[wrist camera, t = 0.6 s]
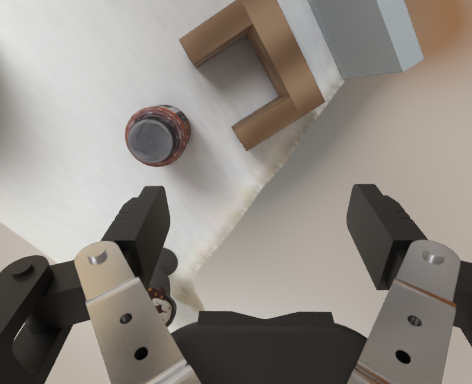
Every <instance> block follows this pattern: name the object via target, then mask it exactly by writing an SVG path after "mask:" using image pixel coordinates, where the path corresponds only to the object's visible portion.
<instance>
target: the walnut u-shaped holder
mask: <svg viewBox="0 0 472 384" xmlns="http://www.w3.org/2000/svg"><path fill="white" fill-rule="evenodd" d="M245 35H247V37H248V39H249V41H250V42H251V44H252V46H253V48H254V50H255V52H256V54H257V56H258V58H259V59H260V61H261V63H262V65H263V67H264V69H265V71H266V73H267V75H268V76H269V78H270V80H271V82H272V84H273V86H274V88H275V90H276V92H277V93H278V95H279V97H277V98H276V99H274V100H272V101H271V102H269V103H268V104H266V105H265V106H263V107H261V108H260V109H258V110H257V111H255V112H254V113H252V114H250V115H249V116H247V117H246V118H244V119H243V120H241V121H240V122H238V123H236V124H235V125H233V126H232V129H233V130H234V132H235V134H236V135H237V137H238V138H239V140H240V142H241V143H242V145H243V146H244V148H245V150H246V151H248V150H249V149H251V148H253V147H254V146H256V145H257V144H259V143H261V142H262V141H264V140H265V139H267V138H269V137H270V136H272V135H273V134H275V133H277V132H278V131H280V130H281V129H283V128H285V127H286V126H288V125H289V124H291V123H293V122H294V121H296V120H297V119H299V118H301V117H302V116H304V115H305V114H307V113H309V112H310V111H312V110H313V109H315V108H317V107H318V106H320V105H321V104H323V103H325V100H324V98H323V96H322V94H321V92H320V90H319V88H318V86H317V84H316V81H315V79H314V77H313V75H312V73H311V71H310V69H309V67H308V65H307V63H306V61H305V58H304V56H303V54H302V52H301V50H300V48H299V46H298V44H297V42H296V40H295V37H294V35H293V33H292V31H291V29H290V27H289V25H288V23H287V21H286V19H285V16H284V14H283V12H282V10H281V8H280V6H279V4H278V2H277V0H236V1H234V2H233V3H232V4H230V5H229V6H227V7H226V8H224V9H223V10H221V11H220V12H218V13H217V14H216V15H214V16H213V17H211V18H210V19H208V20H207V21H205V22H204V23H202V24H201V25H200V26H198V27H197V28H195V29H194V30H192V31H191V32H189V33H188V34H186V35H185V36H183V37H182V38H181V39H179V41H180V43H181V44H182V46H183V48H184V50H185V51H186V53H187V55H188V56H189V58H190V60H191V61H192V63H193V65H194V66H195V68H197V67H198V66H200V65H201V64H203V63H204V62H206V61H207V60H209V59H210V58H212V57H213V56H215V55H216V54H218V53H219V52H221V51H222V50H224V49H225V48H227V47H228V46H230V45H231V44H233V43H234V42H236V41H237V40H239V39H240V38H242V37H243V36H245Z"/></svg>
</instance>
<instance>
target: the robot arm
mask: <svg viewBox="0 0 472 384" xmlns="http://www.w3.org/2000/svg"><path fill="white" fill-rule="evenodd" d="M169 227H170V214H169V209H168V204H167V198H166V193H165V189H164V187H163V186H145V187H144V188H143V190H142V192H141V194H140V195H139V197H138V198H132V199H131V200H129V201H128V202H127V203H125V204H124V205H123V207H122V208H121V210H120V211H119V214H117V216H116V218H115V220H114V221H113V222H112V224H111V225H110V227H109V229H108V230H107V232H106V233H105V235H104V236H103V238H102V239H101V241H100V242H96V243H93V244H91V245H88V246H87V247H85V248H83V249H82V250H81V251H80V252H79V253H78V254H77V256H76V257H75V260H72V261H68V262H64V263H59V264H55V265H51V266H50V265H49V262H48V260H47V259H46V258H45V257H43V256H39V255H34V256H28V257H24V258H22V259H19V260H17V261H15V262H13V263H11V264H10V265H8V266H7V267H6V268H4V269H3V270H2V271H1V272H0V384H44V383H45V381H46V379H47V377H48V375H49V373H50V371H51V369H52V367H53V365H54V363H55V361H56V359H57V357H58V355H59V353H60V350H61V349H62V347H63V344H64V342H65V340H66V338H67V336H68V334H69V332H70V330H71V328H72V326H73V324H76V323H80V322H83V321H87V320H91V322H92V325H93V328H94V331H95V334H96V338H97V340H98V344H99V347H100V350H101V353H102V356H103V359H104V363H105V366H106V368H107V372H108V375H109V378H110V381H111V384H441V383H442V378H443V373H444V368H445V363H446V357H447V352H448V347H449V342H450V337H451V332H452V327H453V326H455V327H459V328H461V330H462V332H463V333H464V335H465V336H466V338H467V340H468V342H469V343H470V345H471V346H472V263H469V262H464V261H460V258H459V257H458V255H457V254H456V253H455V252H454V251H453V250H451V249H450V248H448V247H447V246H445V245H443V244H440V243H438V242H434V241H430V240H428V239H427V238H426V236H425V235H424V234H423V233H422V232H421V230H420V229H419V228H418V226H417V225H416V224H415V223H414V221H413V220H412V219H410V216H409V215H408V214H407V213H406V212H405V210H404V209H403V208H402V207H401V205H400V204H399V203H398V202H396V201H395V200H394V199H392V198H390V197H389V196H383V195H382V193H381V192H380V191H379V189H378V188H377V187H376V185H374V184H355V185H354V186H353V188H352V193H351V197H350V202H349V207H348V212H347V227H348V230H349V232H350V234H351V236H352V238H353V240H354V242H355V245H356V247H357V249H358V251H359V253H360V255H361V257H362V259H363V262H364V264H365V266H366V268H367V270H368V272H369V274H370V276H371V279H372V281H373V283H374V285H375V287H376V289H377V290H389V292H388V294H387V297H386V299H385V301H384V303H383V306H382V308H381V310H380V312H379V315H378V317H377V319H376V321H375V324H374V326H373V328H372V330H371V333H370V335H369V337H368V339H367V338H366V337H365V336H363V335H361V334H360V333H358V332H356V331H354V330H352V329H350V328H348V327H345V326H343V325H340V324H336V323H334V320H333V316H332V313H331V312H296V313H291V314H288V315H283V316H279V317H275V318H270V319H260V318H256V317H252V316H248V315H244V314H240V313H236V312H232V311H199V317H198V322H195V323H191V324H188V325H186V326H184V327H181V328H179V329H177V330H176V331H174V332H173V333H171V334H170V332H169V330H168V329H167V327H166V325H165V323H164V322H163V320H162V318H161V316H160V314H159V313H158V311H157V309H156V307H155V305H154V304H153V302H152V300H151V298H150V297H149V295H148V293H147V291H146V289H145V288H148V287H149V284H150V281H151V279H152V276H153V273H154V270H155V267H156V265H157V262H158V259H159V256H160V253H161V250H162V248H163V245H164V242H165V239H166V236H167V234H168V231H169ZM24 322H25V325H24V326H23V328H22V330H21V331H20V332H19V334H18V336H17V337H16V339H15V340H14V338H15V336H16V335H17V333H18V331H19V330H20V328H21V327H22V325H23V324H24ZM13 341H14V342H13Z"/></svg>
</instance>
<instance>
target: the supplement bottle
mask: <svg viewBox="0 0 472 384" xmlns="http://www.w3.org/2000/svg"><path fill="white" fill-rule="evenodd" d="M189 138H190V124H189V122H188V119H187V118H186V116H185V115H184V114H183V112H181V111H180V110H179V109H177V108H175V107H173V106H169V105H160V106H154V107H148V108H144V109H142V110H140V111H138V112H137V113H135V114H134V115H133V116H132V117H131V118H130V120H129V122H128V124H127V126H126V130H125V140H126V144H127V147H128V149H129V151H130V152H131V154H132V155H133V156H134V157H135V158H136V159H137V160H138V161H140V162H142V163H143V164H146V165H148V166H153V167H162V166H166V165H169V164H171V163H173V162H175V161H176V160H177V159H178V158H179V157H180V156H181V154H182V153H183V151H184V149H185V147H186V145H187V143H188V141H189Z"/></svg>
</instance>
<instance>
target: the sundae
mask: <svg viewBox="0 0 472 384" xmlns="http://www.w3.org/2000/svg"><path fill="white" fill-rule="evenodd" d="M176 267H177V258H176V256H175V255H174V253H173V252H171V251H170V250H168V249H166V248H162V250H161V253H160V256H159V259H158V262H157V265H156V267H155V270H154V273H153V276H152V279H151V281H150V284H149V287H148V288H145V289H146V291H147V293H148V295H149V297H150V298H151V300H152V302H153V304H154V305H155V307H156V309H157V311H158V313H159V314H160V316H161V318H162V320H163V322H164V323H165V325H166V327H168V326H169V325H170V324H171V323H172V321H173V319H174V317H175V314H176V304H175V302H174V300H173V299H172V298H171V297H170V282H169V278H168V275H170V274H172V273H173V272H174V271H175V269H176Z"/></svg>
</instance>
